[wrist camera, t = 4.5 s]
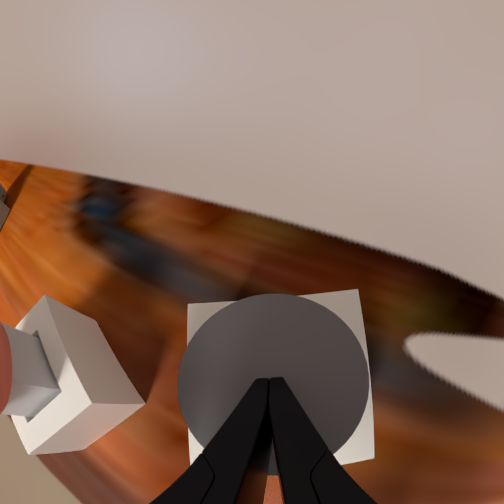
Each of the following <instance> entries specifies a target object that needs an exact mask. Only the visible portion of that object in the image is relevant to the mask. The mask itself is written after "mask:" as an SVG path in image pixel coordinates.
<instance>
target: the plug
mask: <svg viewBox="0 0 504 504" xmlns="http://www.w3.org/2000/svg"><path fill="white" fill-rule="evenodd" d="M271 377H283V378H284V379H285V381H286V382H287V384H288V386H289V387H290V389H291V390H292V392H293V394H294V395H295V397H296V398H297V400H298V402H299V403H300V405H301V406H302V408H303V409H304V411H305V413H306V414H307V416H308V417H309V419H310V420H311V422H312V423H313V425H314V426H315V428H316V430H317V431H318V433H319V434H320V436H321V437H322V439H323V440H324V442H325V443H326V445H327V446H328V448H329V450H331V452H332V453H333V454H334V453H336V452H337V451H338V450H339V449H340V448H341V447H342V446H343V445H344V444H345V443H346V442H347V441H348V440H349V438H350V437H351V436H352V435H353V433H354V432H355V430H356V428H357V427H358V425H359V423H360V421H361V419H362V416H363V414H364V411H365V408H366V404H367V400H368V394H369V371H368V365H367V361H366V358H365V355H364V351H363V349H362V347H361V345H360V343H359V341H358V339H357V338H356V336H355V335H354V333H353V332H352V330H351V329H350V328H349V327H348V326H347V324H346V323H345V322H344V321H343V320H342V319H341V318H339V317H338V316H337V315H336V314H335V313H333V312H332V311H330V310H329V309H327V308H326V307H324V306H322V305H320V304H318V303H316V302H314V301H312V300H309V299H306V298H303V297H299V296H294V295H289V294H262V295H255V296H251V297H248V298H244V299H241V300H239V301H236V302H234V303H231V304H229V305H228V306H226V307H224V308H222V309H221V310H219V311H218V312H216V313H215V314H214V315H212V316H211V317H210V318H209V319H208V320H207V321H206V322H205V323H203V324H202V326H201V327H200V328H199V329H198V330H197V332H196V333H195V334H194V336H193V337H192V339H191V340H190V342H189V344H188V346H187V348H186V350H185V352H184V354H183V357H182V360H181V363H180V368H179V373H178V386H177V387H178V399H179V404H180V408H181V412H182V415H183V417H184V420H185V422H186V424H187V426H188V428H189V430H190V432H191V433H192V434H193V436H194V437H195V439H196V440H197V441H198V442H199V443H200V445H201V446H202V447H203V448H205V447H206V446H207V444H208V443H209V442H210V440H211V439H212V438H213V437H214V435H215V434H216V433H217V431H218V430H219V429H220V427H221V426H222V425H223V423H224V422H225V421H226V419H227V418H228V417H229V415H230V414H231V413H232V411H233V410H234V408H235V407H236V406H237V404H238V403H239V402H240V400H241V399H242V397H243V396H244V395H245V393H246V392H247V390H248V389H249V387H250V386H251V385H252V383H253V382H254V380H255V379H256V378H269V380H270V378H271ZM268 475H278V471H277V465H276V458H275V452H274V446H273V439H272V448H271V455H270V462H269V469H268Z"/></svg>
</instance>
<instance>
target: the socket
mask: <svg viewBox="0 0 504 504" xmlns="http://www.w3.org/2000/svg"><path fill="white" fill-rule="evenodd" d="M299 297H303V298H306V299H309V300H312V301H314V302H316V303H318V304H320V305H322V306H324V307H326V308H327V309H329V310H330V311H332V312H333V313H335V314H336V315H337V316H338V317H339V318H341V319H342V320H343V321H344V322H345V323H346V324H347V326H348V327H349V328H350V329H351V330H352V332H353V333H354V335H355V336H356V338H357V339H358V341H359V343H360V345H361V347H362V349H363V351H364V355H365V358H366V361H367V365H368V371H369V361H368V353H367V345H366V337H365V330H364V323H363V316H362V310H361V304H360V298H359V292H358V289H353V290H345V291H336V292H328V293H319V294H309V295H300V296H299ZM234 302H236V301H230V302H215V303H198V304H188V321H187V346H188V344H189V342H190V340H191V339H192V337H193V336H194V334H195V333H196V332H197V330H198V329H199V328H200V327H201V326H202V324H203V323H205V322H206V321H207V320H208V319H209V318H210V317H211V316H212V315H214V314H215V313H216V312H218V311H219V310H221V309H222V308H224V307H226V306H228V305H229V304H231V303H234ZM188 432H189V451H190V465H191V464H192V463H193V462H194V461H195V459H196V458H197V457H198V455H199V454H200V453H202V451H203V449H204V448H203V447H202V446H201V445H200V443H199V442H198V441H197V440H196V439H195V437H194V436H193V434H192V433H191V432H190V430H189V428H188ZM333 455H334V456H335V458H336V459H337V461H338V462H339V463H340V465H343V464H348V463H354V462H359V461H364V460H368V459H373V458H374V424H373V406H372V392H371V381H370V371H369V394H368V400H367V404H366V408H365V411H364V414H363V416H362V419H361V421H360V423H359V425H358V427H357V428H356V430H355V432H354V433H353V435H352V436H351V437H350V438H349V440H348V441H347V442H346V443H345V444H344V445H343V446H342V447H341V448H340V449H339V450H338V451H337V452H336V453H334V454H333Z"/></svg>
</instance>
